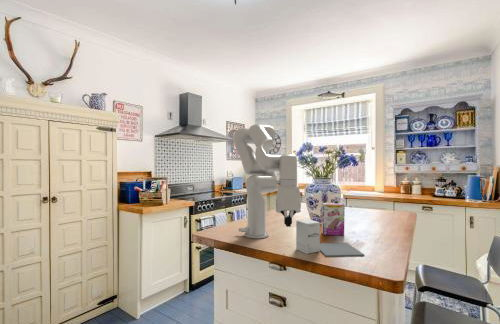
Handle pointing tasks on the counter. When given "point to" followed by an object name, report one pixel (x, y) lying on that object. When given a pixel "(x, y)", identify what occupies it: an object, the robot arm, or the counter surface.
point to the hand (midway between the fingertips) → (288, 226)
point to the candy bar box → (333, 219)
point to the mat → (339, 250)
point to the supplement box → (308, 236)
